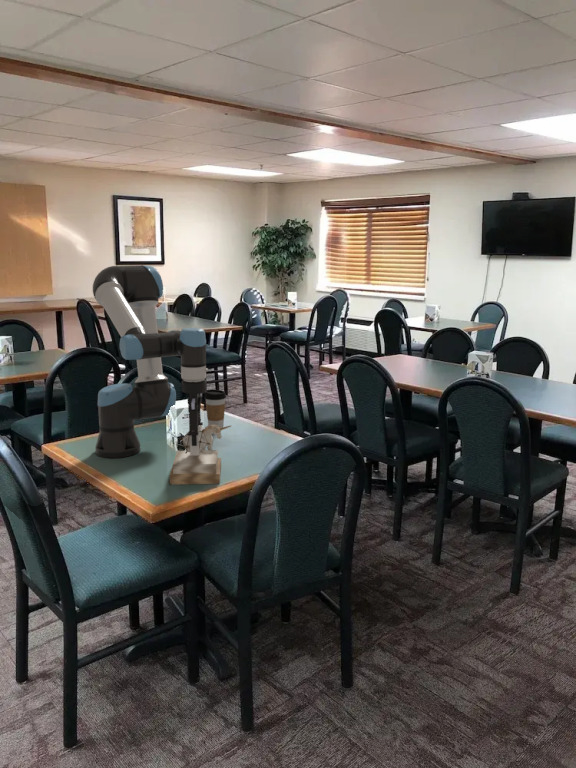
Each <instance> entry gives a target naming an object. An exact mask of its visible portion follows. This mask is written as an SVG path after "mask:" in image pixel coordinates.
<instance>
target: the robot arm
mask: <svg viewBox="0 0 576 768" xmlns="http://www.w3.org/2000/svg"><path fill="white" fill-rule="evenodd" d="M92 295H93V297H94V299H95V301H96V303H97V304H98V305H100V306H102V307H103V308H104V310H105V312H106V313H107V315H108V317H109V318H110V320H111V323H112V324H113V326H114V328H115V330H117V331H116V332H118V335H119V336H120V339H119V351H120V354H121V357H122V358H123V359H124V360H126V361H127V360H128V361H131V360H133V361H136V366H137V367H136V369H137V376H138V377H137V378H136V379H135V381H134V386H133V385H132V384H131V383H129V382H128V383H127V382H126V383H125V382H123V383H115V384H110V385H107V386H105V387H103V388H101V389H100V390H99V391H98V394H97V408H98V411H97V412H98V423H99V424H98V425H99V434H98V437H97V441H96V443H95V454H96V456H98V457H101V458H105V459H106V458H107V459H119V458H127V457H130V456H134V455H137V454H139V452H140V451H141V443H140V440H139V438H138V436H137V433H136V431H135V421H139V420H144V419H145V420H146V419H154V418H162V417H165V416H169V415H168V413H169V410H170V407H171V406H173V405H175V406H176V402H177V393H176V392H177V391H176V389H175V386H174V384H173V383H171V382H169V378H168V377H167V376H166V375H165V374H164V373H163V371H164V370H163V364H162V358H166V357H180V375H181V376H180V377H181V379H182V380H181V392H182V393H184V394H187V395H188V394H189V396H188V398H187V406H188V407H187V409H188V423H189V426H188V427H189V429H188V432H189V433H188V432H187V433H186V434H187V436H189V435H190V456H193V455H199V433H198V430H200V431H201V426H203V425H204V423H203V422H201V421H202V417H201V416H202V415H201V408H202V404H201V403H202V396H201V395H202V394H205V392H206V390H208V389H207V384H208V383H207V380H206V379H207V372H209V368H207V338H206V331H205V330H204V329H203V328H201V327H199V328H198V327H185V328H182V329H181V330H175V329H174V330H169V331H167V332H159V331H158V323H157V322H158V321H157V314H156V307H157V305H158V304H159V303H160V302H159V300H160V299H161V298H162V297H163V295H164V284H163V279H162V277H161V274H160V272H159V271H158V269H157V268H156V267H155V266H152V265H142V264H141V265H112V266H108V267H106V268H104V269H102V270H101V271H100V272H98V274H97V275H96V276H95V278H94V280H93V283H92Z"/></svg>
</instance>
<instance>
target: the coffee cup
mask: <svg viewBox="0 0 576 768" xmlns="http://www.w3.org/2000/svg"><path fill="white" fill-rule="evenodd" d="M226 398H227V395H226V391H225V390H221V389H213V388H210V389H207V390H206V392H204V399H205V408H206V409H205V410H206V416H207V417H206V418H207V426H208V425H219V426H218V427H219V428H223V427H224V425H225V424H224V421H225V410H226Z"/></svg>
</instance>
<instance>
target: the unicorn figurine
mask: <svg viewBox="0 0 576 768" xmlns="http://www.w3.org/2000/svg"><path fill="white" fill-rule="evenodd" d="M200 426H201V431H202V430H203V429H204V431H203V433H204V435H205V437H206V440H207V442H208V443H210V445H208V444H207V445H206V446H205V447H204V448H203V450H206V448H207V450H213V445H214V438H213V436H212V434H213V435H214V436H216V437H217V439H219V440H221V439H222V437H223V436H222V433H221V431H223V430H225V429H228V428H231V427H232V425H227V426H223V428H219V427H218V426H219V425H208V424H207V426H205V427H202V426H203V425H200Z"/></svg>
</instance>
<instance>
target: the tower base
mask: <svg viewBox="0 0 576 768" xmlns="http://www.w3.org/2000/svg"><path fill="white" fill-rule="evenodd" d="M185 452H186V450H177V451H176V454H175V457H174V460H173V463H172V466H171V469H170V473H169V485H170V484H173V485H172V486H174V484H175V485H212V484H213V485H215V484H216V485H217V484H218V485H219V484H220V482H221V474H222V457H219V453H218V452H219V450H218V449H215V450H214V449H212V450H208V449H207V450H206V449H205V450H202V451H201V452H200V453H199V454H200V455H193V456H190V452H187V453H186V454H185Z"/></svg>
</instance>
